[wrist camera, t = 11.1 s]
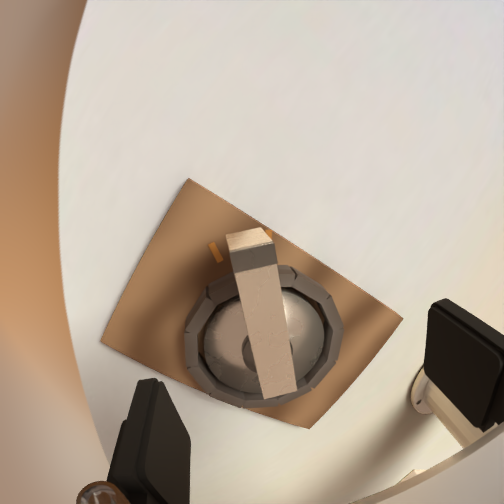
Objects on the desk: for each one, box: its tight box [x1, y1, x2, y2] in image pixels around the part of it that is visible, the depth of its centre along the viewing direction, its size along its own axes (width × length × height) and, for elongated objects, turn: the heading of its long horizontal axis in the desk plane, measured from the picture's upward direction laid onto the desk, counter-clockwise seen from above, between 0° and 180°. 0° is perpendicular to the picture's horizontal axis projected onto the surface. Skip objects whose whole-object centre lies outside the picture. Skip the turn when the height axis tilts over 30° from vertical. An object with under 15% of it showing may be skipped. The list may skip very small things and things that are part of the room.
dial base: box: [100, 178, 403, 429], centre depth 26 cm, size 24×16×4 cm
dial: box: [204, 227, 324, 399], centre depth 22 cm, size 15×10×7 cm, turn 11°
